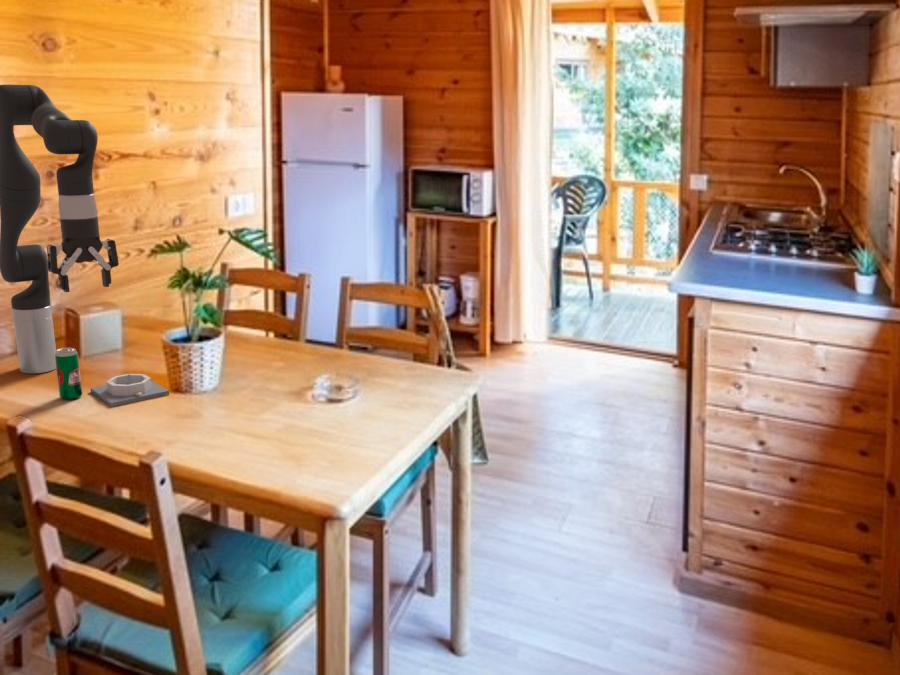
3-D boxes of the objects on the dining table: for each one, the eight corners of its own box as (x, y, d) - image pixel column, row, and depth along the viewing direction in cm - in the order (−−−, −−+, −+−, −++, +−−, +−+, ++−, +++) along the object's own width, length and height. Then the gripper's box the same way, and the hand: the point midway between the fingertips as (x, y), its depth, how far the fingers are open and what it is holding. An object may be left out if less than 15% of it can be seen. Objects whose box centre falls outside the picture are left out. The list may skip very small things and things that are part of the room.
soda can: (74, 401, 204) (68, 353, 201) (55, 400, 205) (49, 352, 202) (86, 394, 209) (81, 347, 206) (68, 393, 210) (63, 346, 207)
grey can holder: (90, 392, 211) (89, 378, 210) (146, 380, 220) (145, 367, 219) (111, 406, 201) (110, 392, 200) (169, 394, 210) (168, 381, 209)
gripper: (105, 211, 192) (112, 282, 196) (38, 216, 183) (47, 290, 187) (118, 214, 186) (125, 287, 190) (49, 219, 177) (58, 296, 181)
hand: (86, 289), depth 189 cm, fingers open, 8 cm apart
